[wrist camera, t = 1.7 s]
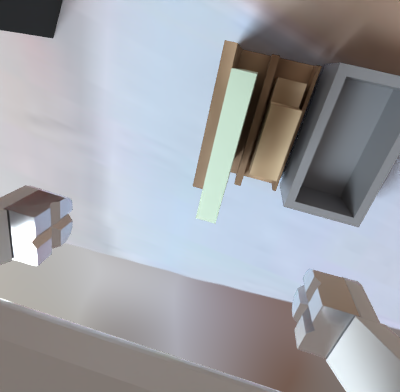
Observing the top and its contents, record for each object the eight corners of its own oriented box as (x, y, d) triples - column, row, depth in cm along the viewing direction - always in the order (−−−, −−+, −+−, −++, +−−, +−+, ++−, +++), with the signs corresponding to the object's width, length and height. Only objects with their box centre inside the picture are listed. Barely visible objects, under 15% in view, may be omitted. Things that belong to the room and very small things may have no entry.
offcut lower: (303, 83, 32) (307, 84, 30) (272, 168, 37) (273, 176, 35) (276, 76, 33) (277, 77, 30) (249, 162, 38) (249, 169, 35)
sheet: (258, 72, 33) (257, 74, 17) (234, 158, 38) (215, 223, 22) (245, 69, 33) (231, 68, 17) (222, 155, 38) (195, 218, 22)
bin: (403, 82, 32) (438, 84, 26) (342, 202, 39) (358, 227, 33) (325, 64, 33) (340, 62, 26) (279, 185, 40) (283, 206, 33)
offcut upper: (298, 107, 31) (302, 111, 28) (275, 172, 34) (276, 181, 32) (270, 100, 31) (271, 103, 28) (250, 166, 35) (249, 174, 32)
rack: (315, 66, 33) (334, 65, 24) (274, 180, 39) (278, 209, 31) (233, 47, 34) (224, 40, 25) (206, 161, 40) (192, 186, 32)
